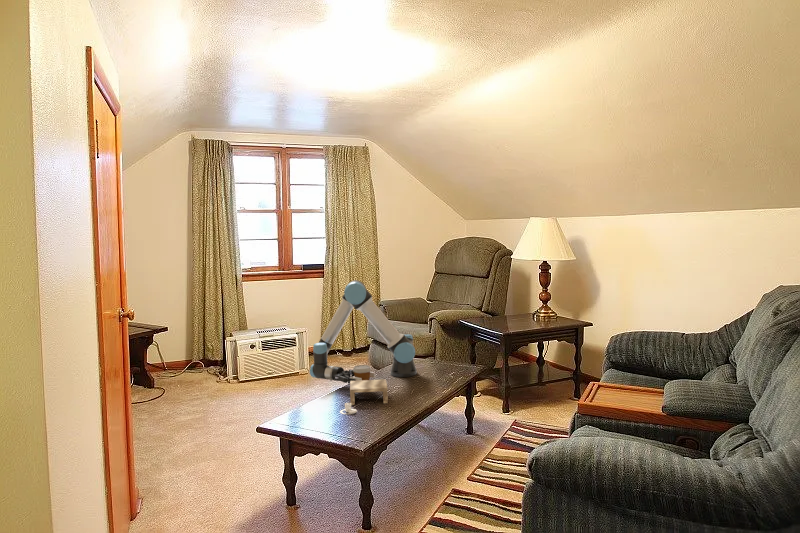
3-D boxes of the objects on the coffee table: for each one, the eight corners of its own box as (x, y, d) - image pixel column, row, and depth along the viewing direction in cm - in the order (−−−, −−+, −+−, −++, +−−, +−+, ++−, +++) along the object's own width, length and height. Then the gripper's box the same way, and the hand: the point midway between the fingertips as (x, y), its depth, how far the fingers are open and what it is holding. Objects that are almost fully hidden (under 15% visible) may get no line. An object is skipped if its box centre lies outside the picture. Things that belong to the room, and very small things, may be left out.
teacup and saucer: (358, 414, 258) (358, 406, 257) (340, 416, 256) (340, 407, 256) (356, 409, 266) (355, 400, 266) (339, 410, 265) (338, 402, 264)
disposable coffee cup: (369, 392, 292) (368, 369, 291) (351, 391, 294) (350, 369, 293) (373, 387, 301) (372, 365, 300) (356, 386, 303) (355, 364, 302)
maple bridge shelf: (386, 393, 288) (385, 379, 288) (387, 403, 272) (387, 387, 272) (350, 395, 287) (350, 380, 287) (350, 405, 271) (350, 389, 271)
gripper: (348, 375, 317) (380, 379, 306) (321, 385, 296) (354, 390, 285) (347, 361, 316) (380, 365, 305) (320, 371, 296) (354, 376, 285)
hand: (368, 377), depth 295 cm, fingers open, 12 cm apart
